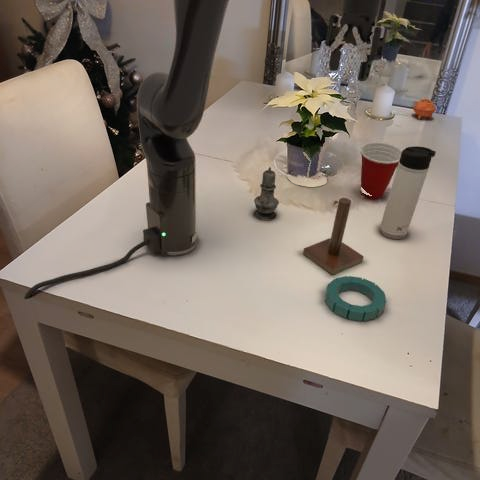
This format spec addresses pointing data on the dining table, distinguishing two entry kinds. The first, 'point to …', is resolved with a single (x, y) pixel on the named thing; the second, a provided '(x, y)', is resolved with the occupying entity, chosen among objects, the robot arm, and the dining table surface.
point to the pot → (424, 108)
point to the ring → (354, 310)
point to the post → (335, 245)
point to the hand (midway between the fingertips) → (347, 75)
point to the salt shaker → (266, 197)
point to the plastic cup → (378, 167)
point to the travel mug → (405, 191)
